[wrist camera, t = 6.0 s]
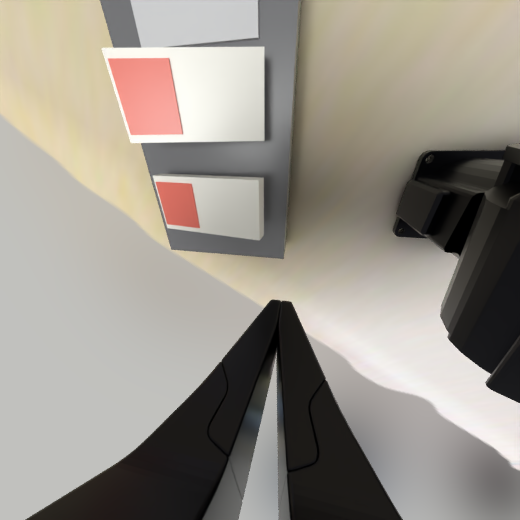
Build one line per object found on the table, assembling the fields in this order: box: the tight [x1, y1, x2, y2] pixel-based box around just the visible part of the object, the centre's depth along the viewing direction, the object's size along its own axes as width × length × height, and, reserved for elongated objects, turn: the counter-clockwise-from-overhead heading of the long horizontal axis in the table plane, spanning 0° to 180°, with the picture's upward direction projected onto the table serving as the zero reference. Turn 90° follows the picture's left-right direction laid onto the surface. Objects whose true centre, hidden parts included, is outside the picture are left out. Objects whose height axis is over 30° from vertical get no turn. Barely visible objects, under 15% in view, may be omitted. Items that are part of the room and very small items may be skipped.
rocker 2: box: [153, 174, 264, 241], centre depth 14 cm, size 8×4×1 cm, turn 92°
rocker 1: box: [102, 47, 265, 143], centre depth 11 cm, size 8×4×1 cm, turn 91°
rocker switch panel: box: [100, 0, 301, 259], centre depth 14 cm, size 11×20×4 cm, turn 2°
